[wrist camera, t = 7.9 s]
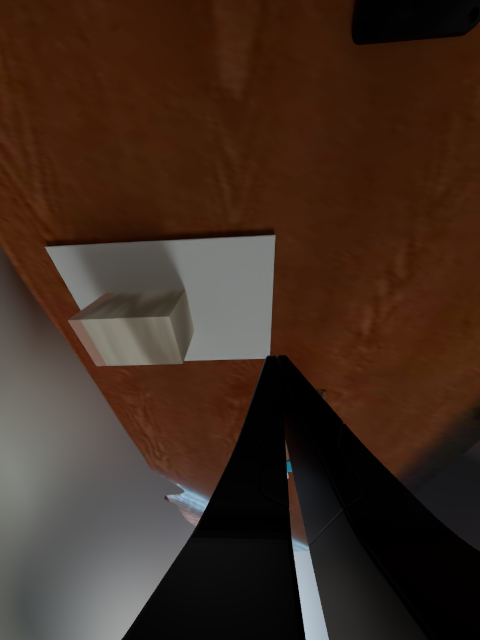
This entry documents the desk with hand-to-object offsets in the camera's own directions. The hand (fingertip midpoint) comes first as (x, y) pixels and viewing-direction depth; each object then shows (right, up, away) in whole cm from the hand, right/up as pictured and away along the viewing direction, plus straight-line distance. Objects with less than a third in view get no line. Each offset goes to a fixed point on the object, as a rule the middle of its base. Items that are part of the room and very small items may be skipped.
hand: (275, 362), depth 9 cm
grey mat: (-8, +3, +12) cm, 15 cm away
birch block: (-7, +1, +10) cm, 12 cm away
